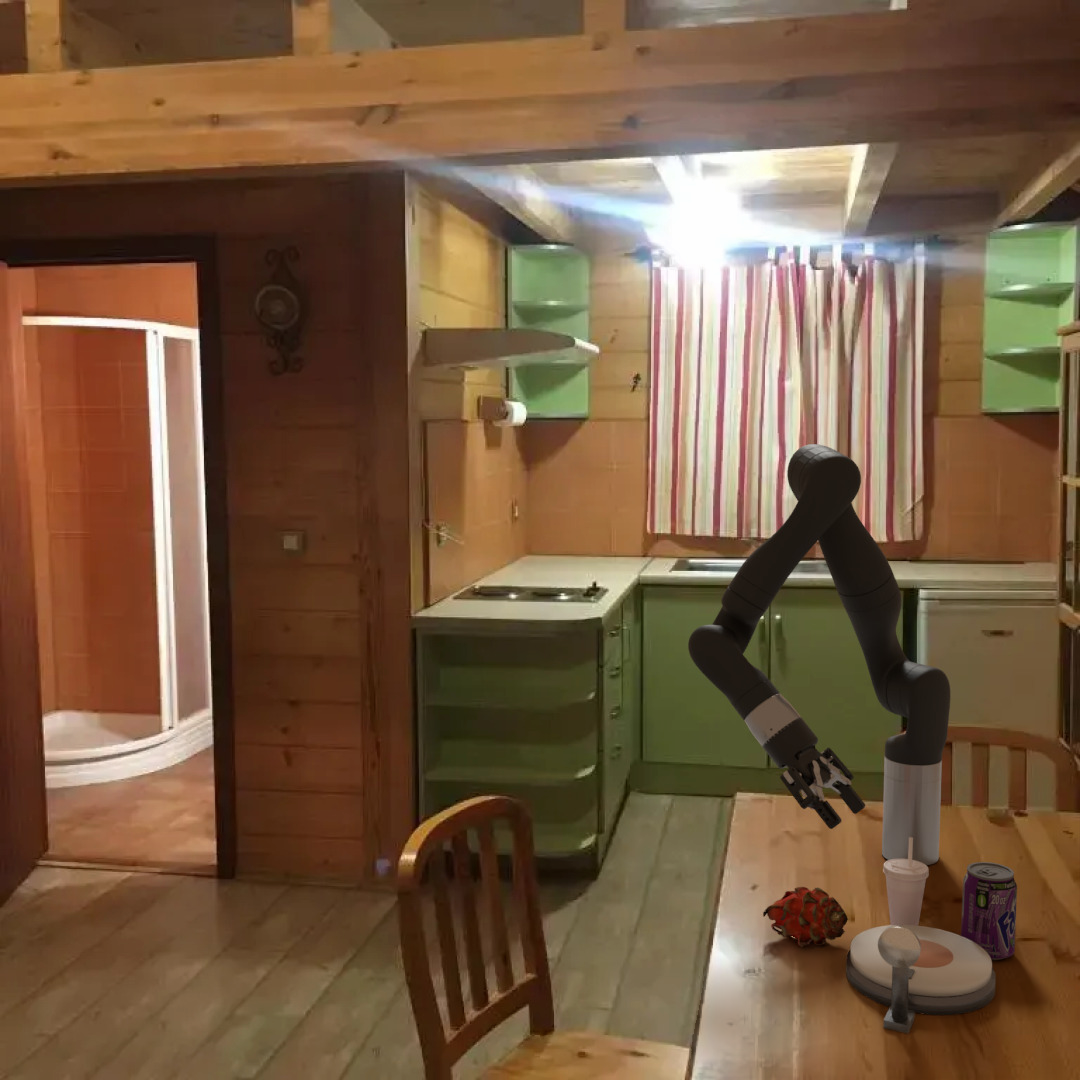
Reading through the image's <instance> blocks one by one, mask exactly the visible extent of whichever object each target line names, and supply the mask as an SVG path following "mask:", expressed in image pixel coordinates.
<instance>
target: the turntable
mask: <svg viewBox="0 0 1080 1080" xmlns="http://www.w3.org/2000/svg"><path fill="white" fill-rule="evenodd" d="M890 926H894V925H891V924H888V925H881V926H875V927H872V928H869V929H868V928H867V929H866V930H864V931H861V932H860V933H858V934H857V935H855V936H854V937H853V939H852V940H851V942H850V949H851V951H850V959H851V962H852V964H853V966H854V967H855V969H856V970H857V971H858V972H859V973H860V974H862V975H863V976H865V977H866V978H868V979H869V980H871V981H873V982H875V983H877V984H879V985H882V986H885V987H887V988H890V989H892V966H891V965H890V964H888V963H887V962H886V961H885V960H884V959H883V958H882V957H881V955H880V953H879V950H878V940H879V937H880V935H881V934H882V932H883V931H884V930H885V929H886V928H888V927H890ZM900 926H904V927H906V928H908V929H910V930H911V931H913V932H914V933H915V934H916V936H917V937H918V939H919V941H920V944H921V953H920V956H919V958H918V960H917V962H916V963H915V964H914V965H912V966H911V967H909V991H908V993H910V994H915V995H923V996H942V997H945V996H957V995H964V994H968V993H972V992H975V991H977V990H979V989H981V988H983V987H984V986H986V985H987V984H988V983H989V981H990V979H991V975H992V968H993V960H991V958H990V956H989V954H988V953H987V952H986V951H985V950H984V949H983V948H982V947H981V946H979V945H978V944H976V943H974V942H973V941H971V940H969V939H967V938H965V937H962V936H961V934H960V935H959V934H957V933H954V932H951V931H948V930H944V929H940V928H935V927H929V926H924V925H918V926H916V925H900Z"/></svg>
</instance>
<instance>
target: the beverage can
mask: <svg viewBox="0 0 1080 1080" xmlns="http://www.w3.org/2000/svg"><path fill="white" fill-rule="evenodd" d="M965 873H966V874H965V875H964V876H963V879H962V899H961V901H962V902H961V904H962V905H961V924H960V925H961V928H960V931H961V932H960V936H962V937H965V938H967V939H969V940H971V941H973V942H974V943H976V944H978V945H979V946H981V947H982V948H983V949H984V950H985V951H986V952H987V953H988V954H989V956H990V958H991V961H999V960H1003V959H1006V958H1009V957H1012V956H1013V955H1014V954H1015V946H1016V923H1017V903H1018V902H1017V895H1018V885H1017V882H1016V880H1015V872H1014V870H1013V869H1012V868H1010V867H1008V866H1006V865H1003V864H1000V863H995V862H989V861H979V862H972V863H970V864H968V865H967V867H966V872H965Z"/></svg>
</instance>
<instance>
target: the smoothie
mask: <svg viewBox="0 0 1080 1080" xmlns="http://www.w3.org/2000/svg"><path fill="white" fill-rule="evenodd" d="M912 848H913V838H912V837H909V849H908V859H891V860H888V859H887V860H886V861H885V862H884V863H883V869H882V872H883V873H884V874H885V882H886V891H887V892H886V893H887V902H888V903H887V904H888V913H889V921H890V924H889V925H916V926H919V923H920V916H921V910H922V906H923V905H922V904H923V899H924V894H925V886H926V882H927V881H926V880H927V879H928V877H929V875H930V874H929V873H930V872H929V870H930V869H929V867H928V865H925V864H923V863H921V862H919V861H915V860H912Z"/></svg>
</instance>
